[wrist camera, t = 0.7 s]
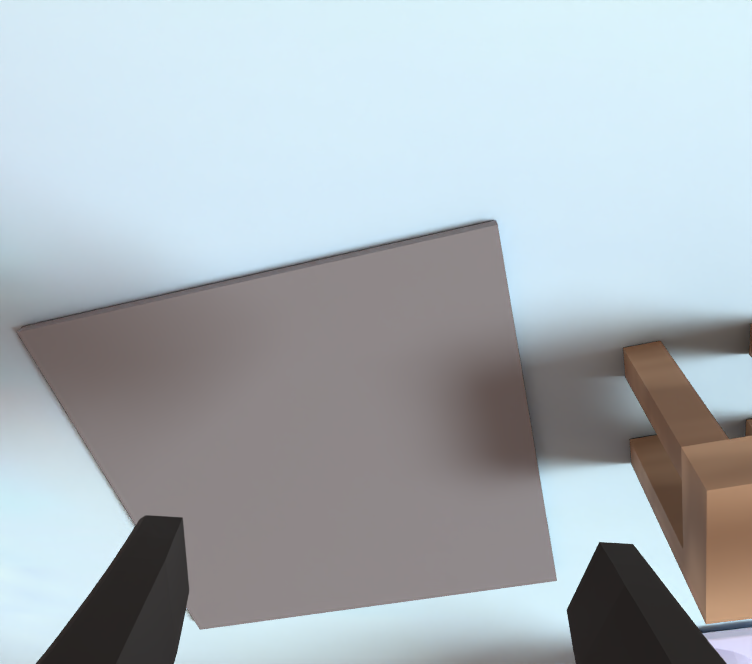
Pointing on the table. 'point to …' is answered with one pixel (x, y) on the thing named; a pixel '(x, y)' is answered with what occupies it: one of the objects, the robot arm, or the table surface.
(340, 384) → the mat
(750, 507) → the stool
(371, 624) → the table surface
